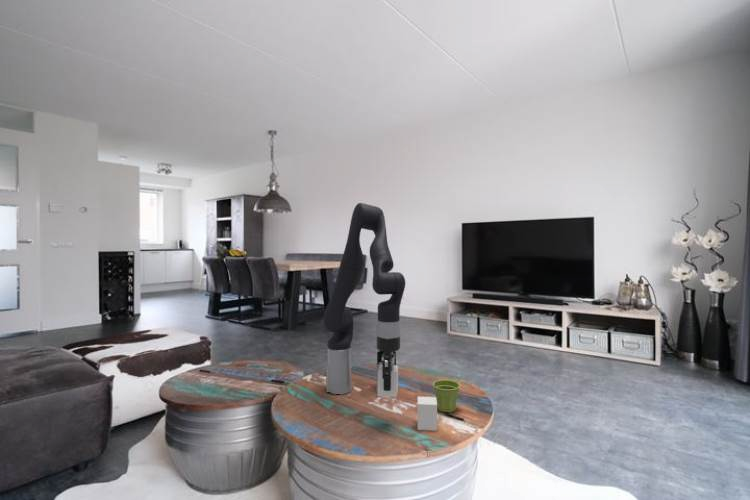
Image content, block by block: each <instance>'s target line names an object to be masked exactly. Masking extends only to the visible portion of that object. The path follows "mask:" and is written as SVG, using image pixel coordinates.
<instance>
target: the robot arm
mask: <svg viewBox="0 0 750 500" xmlns="http://www.w3.org/2000/svg"><path fill="white" fill-rule="evenodd" d="M362 229H363V230H367V231H372V232H373V234H374V237H373V240H372V242H371V244H370V247H369V257H370V261H371V265H372V283H371V284H372V285H371V287H372V289H373V292H375V294H377V295H382V296H383V295H390V297H389V299H387V300H384V301H381V302H378V304H377V325H376V349H377V350H378V351H383V352H384V354H383V356H382V374H383V376H382V378H383V379H384V391H390V390H391V378H392V376H391V371H393V366H394V359H395V354H394V351H395V352H397V351H399V350H400V349H401V324H400V323H401V322H400V309H401V304H402V299H403V297H404V296H403V295H404V291H405V288H406V278H405V276H404V275H403V273H402V272H397V271H396V272H395V271H394V272H393V271H392V270H393V268H394V261H393V257H392V254H391V250H390V247H389V243H388V236H387V227H386V219H385V214H384V212H383V209H382V208H380V207H379V206H375V205H372V204H366V203H362V202H358V203H356V205H355V206H354V209H353V211H352V215H351V218H350V224H349V229H348V234H347V238H346V239H347V240H346V243H345V248H344V251H343V254H342V257H341V260H340V263H339V268H338V271H337V275H336V278H335V279H336V280H335V282H334V286H333V289H332V292H331V296H330V298H329V301H328V304H327V306H326V308H325V311H324V314H323V326H324V328H325V329H326V331H328V332H330V333H332V336H331V337H330V338H329V339H328V340H327V367H326V370H325V372H326V373H325V374H326V375H325V376H326V382H325V383H326V385H325V386H326V390H325V391H326V393H327V392H330V393H329V394H331V393H332V394H331V395H336V394H340V395H346V394H348V393H350V392H351V391H352V346H351V345H352V342H353V341H352V340H353V338H354V315H353V312H352V310H351V308H350V307H348V306H346V305H347V302H348V300H349V299H350V297H351V295H352V294H353V293H354V292H355V290H356V288H357V287H358V286H359V284H360V281H361V279H362V277H363V273H364V269H365V266H366V262H365V256H364V253H363V250H362V246H361V241H360V239H361V230H362ZM385 372H389V375H385Z"/></svg>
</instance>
